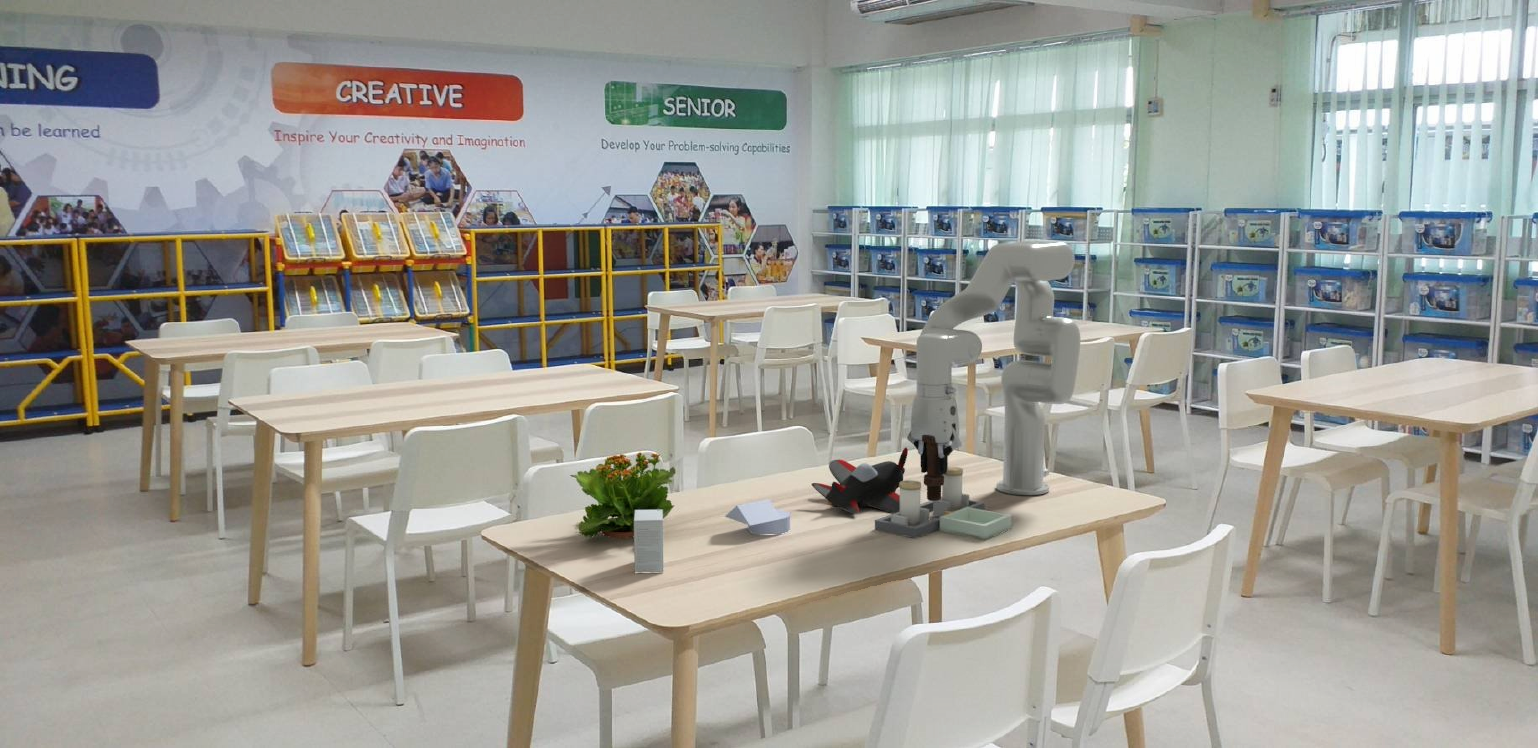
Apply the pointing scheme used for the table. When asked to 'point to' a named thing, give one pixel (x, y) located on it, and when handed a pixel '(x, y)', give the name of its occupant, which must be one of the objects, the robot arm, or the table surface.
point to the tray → (975, 523)
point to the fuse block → (922, 518)
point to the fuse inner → (953, 488)
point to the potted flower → (622, 494)
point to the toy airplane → (864, 485)
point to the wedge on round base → (761, 517)
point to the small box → (648, 540)
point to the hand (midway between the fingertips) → (934, 472)
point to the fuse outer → (910, 501)
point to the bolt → (932, 470)
